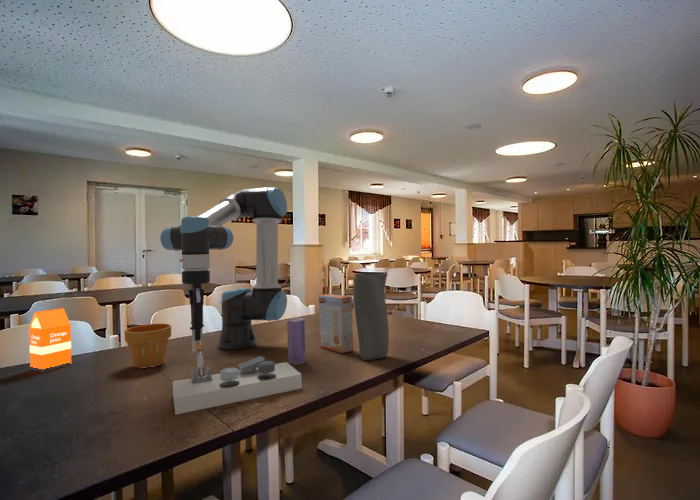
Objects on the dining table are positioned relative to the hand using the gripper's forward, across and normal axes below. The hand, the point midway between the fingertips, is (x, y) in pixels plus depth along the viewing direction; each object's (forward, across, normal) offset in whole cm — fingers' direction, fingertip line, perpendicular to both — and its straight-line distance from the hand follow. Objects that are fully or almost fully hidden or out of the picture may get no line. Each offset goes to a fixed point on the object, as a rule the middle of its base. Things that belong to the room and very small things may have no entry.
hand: (197, 350), depth 107 cm
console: (+10, +11, +9) cm, 18 cm away
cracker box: (+10, -14, +51) cm, 54 cm away
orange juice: (+10, -45, -43) cm, 63 cm away
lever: (+5, +8, 0) cm, 10 cm away
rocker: (+5, +8, +14) cm, 17 cm away
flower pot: (+10, -30, -13) cm, 35 cm away
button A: (+4, +15, +16) cm, 23 cm away
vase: (+10, +3, +57) cm, 58 cm away
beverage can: (+10, -6, +32) cm, 34 cm away
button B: (+4, +15, +6) cm, 17 cm away
